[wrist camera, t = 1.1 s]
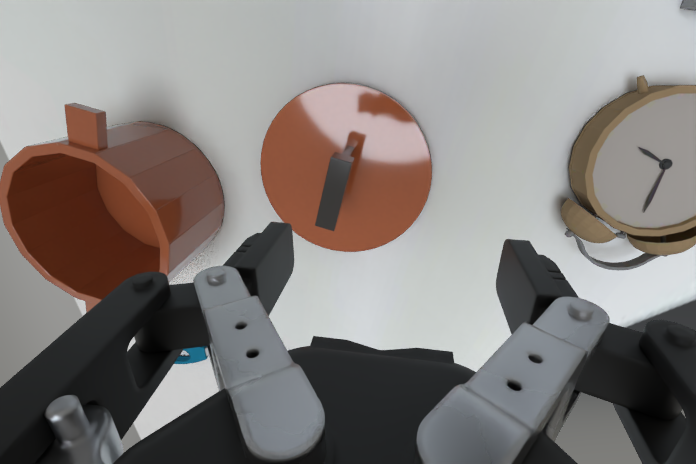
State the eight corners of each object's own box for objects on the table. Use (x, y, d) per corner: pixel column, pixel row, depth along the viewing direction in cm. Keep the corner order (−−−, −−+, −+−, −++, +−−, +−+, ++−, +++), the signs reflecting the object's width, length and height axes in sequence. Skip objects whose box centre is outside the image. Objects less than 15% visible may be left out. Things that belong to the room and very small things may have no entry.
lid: (255, 221, 39) (227, 251, 33) (278, 60, 32) (248, 61, 26) (400, 264, 38) (398, 302, 33) (457, 111, 31) (468, 124, 25)
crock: (99, 252, 44) (19, 302, 35) (85, 74, 35) (-27, 81, 26) (216, 287, 43) (166, 348, 35) (233, 117, 34) (171, 139, 25)
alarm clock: (798, 94, 25) (699, 295, 29) (734, 100, 29) (657, 272, 34) (625, 66, 26) (553, 266, 30) (589, 76, 30) (532, 247, 35)
